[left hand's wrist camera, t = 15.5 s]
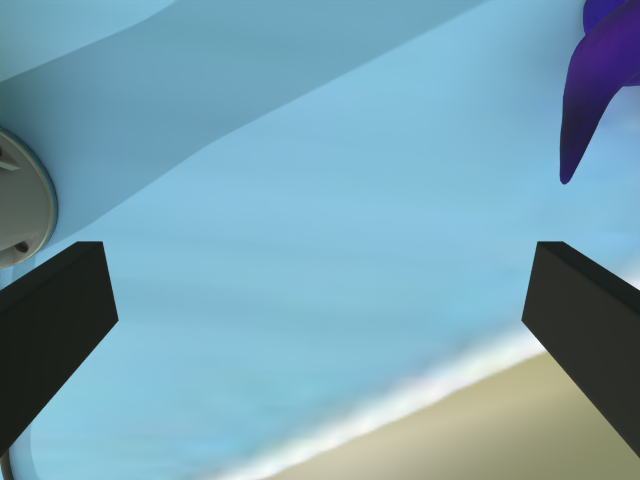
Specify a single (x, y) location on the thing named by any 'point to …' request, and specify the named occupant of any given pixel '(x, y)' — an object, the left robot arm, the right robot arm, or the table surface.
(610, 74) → the toy
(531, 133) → the table surface
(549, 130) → the table surface
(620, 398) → the left robot arm
